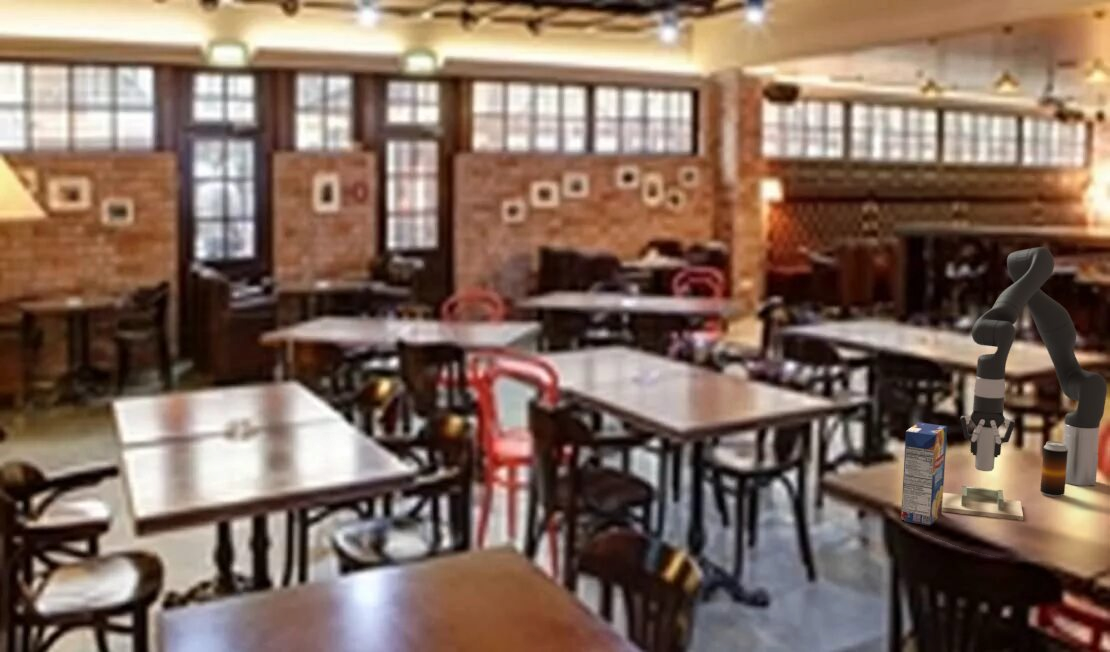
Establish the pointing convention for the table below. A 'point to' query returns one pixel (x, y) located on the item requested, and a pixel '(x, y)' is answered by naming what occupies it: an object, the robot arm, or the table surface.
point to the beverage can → (1054, 469)
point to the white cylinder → (985, 449)
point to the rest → (982, 503)
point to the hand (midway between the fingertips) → (985, 455)
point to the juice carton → (923, 473)
